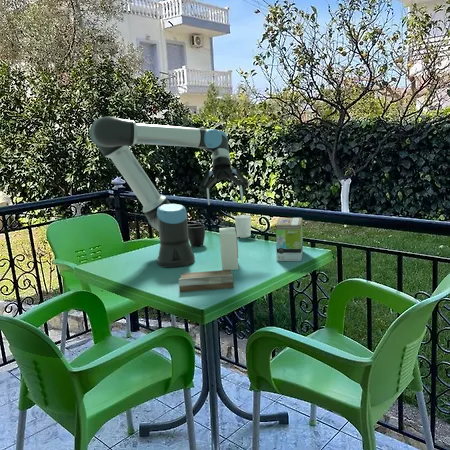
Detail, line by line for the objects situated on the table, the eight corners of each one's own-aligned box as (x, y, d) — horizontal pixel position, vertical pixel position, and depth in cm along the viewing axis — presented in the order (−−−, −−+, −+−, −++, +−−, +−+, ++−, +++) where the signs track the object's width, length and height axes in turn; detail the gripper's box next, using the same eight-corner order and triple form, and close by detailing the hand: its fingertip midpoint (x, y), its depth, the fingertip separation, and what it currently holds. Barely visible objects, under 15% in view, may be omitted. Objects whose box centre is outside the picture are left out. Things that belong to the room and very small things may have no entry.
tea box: (302, 261, 172) (301, 224, 169) (276, 261, 174) (274, 224, 171) (303, 251, 187) (302, 216, 184) (279, 251, 189) (277, 217, 186)
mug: (208, 241, 215) (206, 221, 213) (204, 247, 203) (203, 227, 201) (191, 241, 216) (189, 222, 214) (187, 248, 204) (185, 228, 202)
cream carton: (222, 270, 168) (220, 234, 165) (221, 262, 179) (219, 228, 176) (239, 269, 168) (236, 233, 165) (237, 260, 179) (235, 227, 176)
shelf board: (181, 278, 162) (180, 266, 161) (231, 274, 162) (230, 263, 161) (179, 292, 148) (178, 279, 147) (233, 288, 148) (232, 275, 147)
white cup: (246, 233, 225) (245, 214, 223) (254, 236, 218) (253, 216, 216) (233, 236, 221) (231, 216, 219) (241, 239, 215) (239, 218, 213)
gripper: (250, 165, 194) (256, 204, 183) (193, 169, 194) (195, 209, 182) (250, 153, 188) (256, 193, 177) (191, 158, 188) (193, 198, 176)
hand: (225, 201), depth 179 cm, fingers open, 13 cm apart
